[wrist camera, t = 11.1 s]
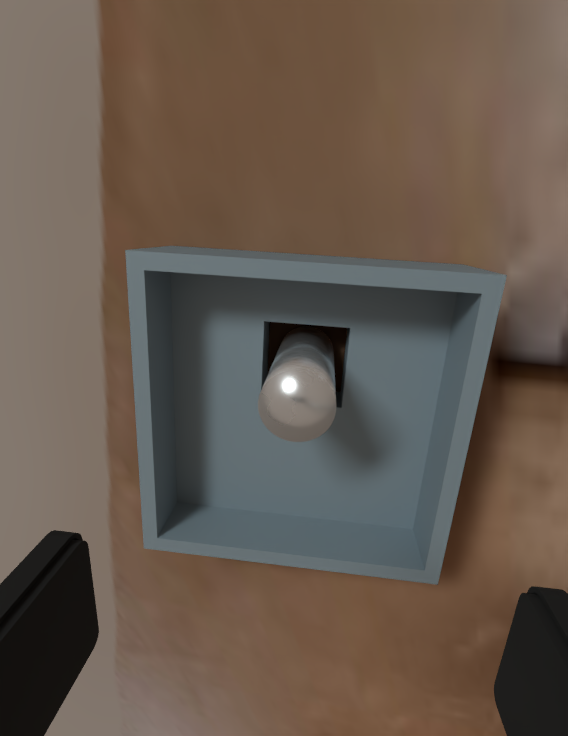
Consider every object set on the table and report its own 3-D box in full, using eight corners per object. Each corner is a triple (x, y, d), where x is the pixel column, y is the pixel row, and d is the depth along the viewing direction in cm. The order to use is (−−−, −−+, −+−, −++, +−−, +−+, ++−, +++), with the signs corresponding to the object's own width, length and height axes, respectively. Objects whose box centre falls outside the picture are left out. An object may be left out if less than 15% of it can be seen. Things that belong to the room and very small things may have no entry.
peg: (331, 380, 31) (332, 445, 22) (278, 376, 31) (256, 438, 22) (336, 328, 30) (340, 373, 20) (280, 324, 30) (259, 366, 21)
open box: (464, 264, 28) (506, 275, 21) (416, 515, 34) (437, 584, 27) (171, 245, 29) (125, 250, 23) (178, 489, 36) (143, 548, 29)
